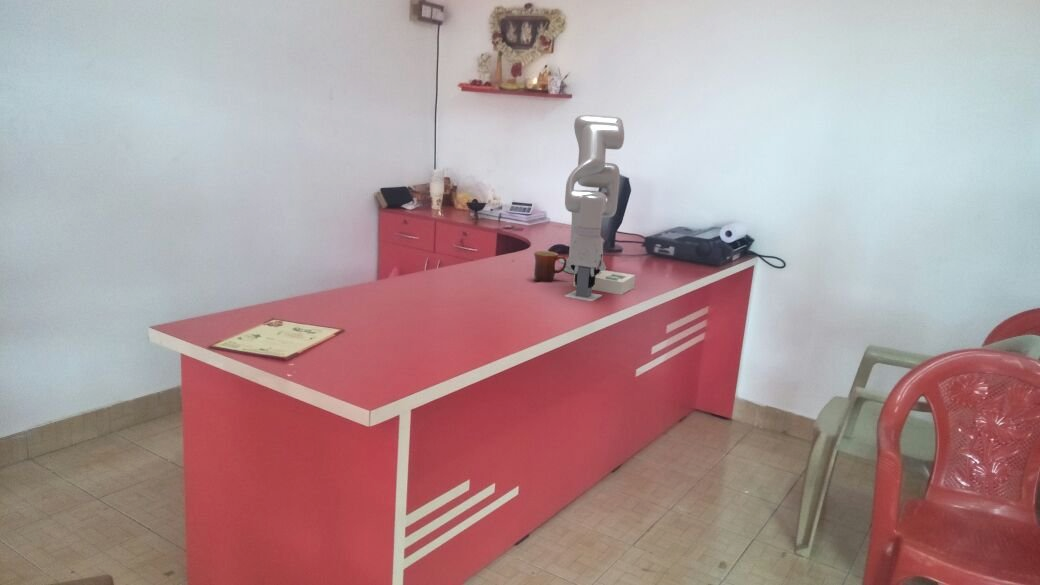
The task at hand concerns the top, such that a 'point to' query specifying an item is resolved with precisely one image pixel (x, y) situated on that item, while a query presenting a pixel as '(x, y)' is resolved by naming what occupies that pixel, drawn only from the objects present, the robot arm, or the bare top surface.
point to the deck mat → (591, 298)
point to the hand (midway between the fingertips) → (584, 285)
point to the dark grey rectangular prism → (583, 282)
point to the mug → (546, 265)
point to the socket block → (612, 282)
